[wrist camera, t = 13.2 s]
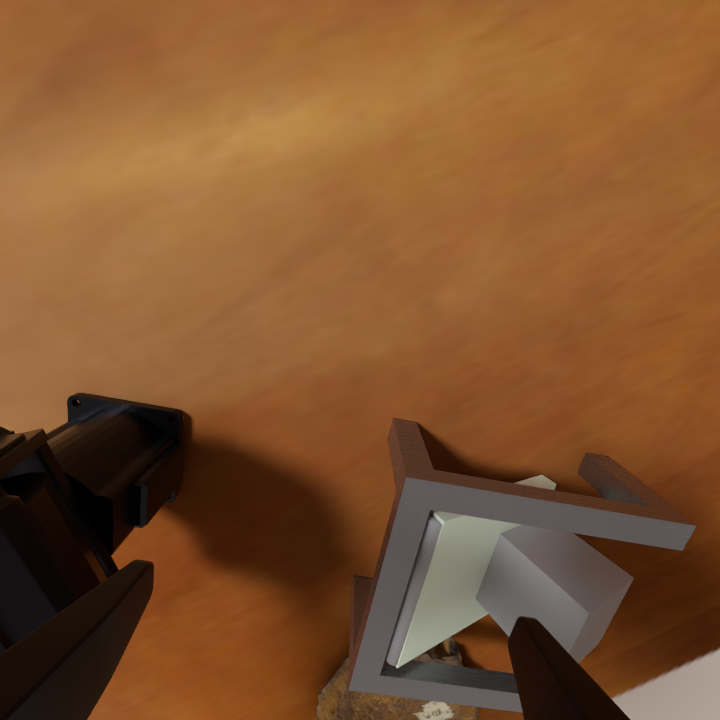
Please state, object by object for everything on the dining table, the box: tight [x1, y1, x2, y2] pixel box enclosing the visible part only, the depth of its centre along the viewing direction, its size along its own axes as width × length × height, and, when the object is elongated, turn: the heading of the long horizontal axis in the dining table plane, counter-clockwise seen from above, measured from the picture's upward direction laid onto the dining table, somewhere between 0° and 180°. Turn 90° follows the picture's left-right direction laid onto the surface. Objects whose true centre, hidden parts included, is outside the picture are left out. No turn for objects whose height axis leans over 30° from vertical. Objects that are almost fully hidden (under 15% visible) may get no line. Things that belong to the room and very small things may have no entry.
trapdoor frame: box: [348, 418, 696, 713], centre depth 21 cm, size 14×14×6 cm
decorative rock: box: [317, 637, 479, 720], centre depth 27 cm, size 11×4×15 cm
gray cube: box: [476, 525, 634, 663], centre depth 20 cm, size 5×5×5 cm
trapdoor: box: [385, 475, 557, 668], centre depth 21 cm, size 10×10×1 cm
